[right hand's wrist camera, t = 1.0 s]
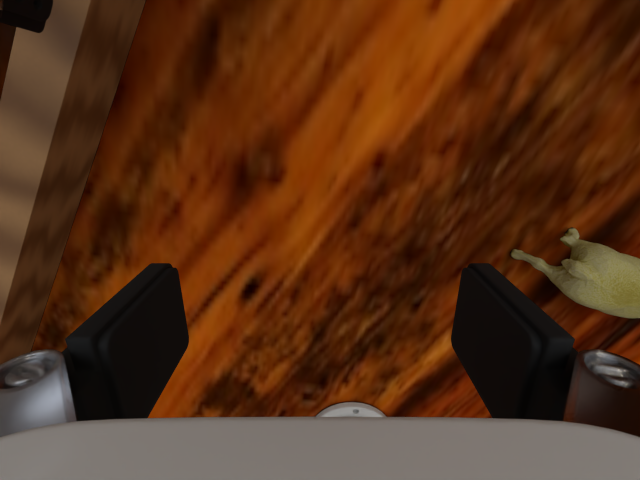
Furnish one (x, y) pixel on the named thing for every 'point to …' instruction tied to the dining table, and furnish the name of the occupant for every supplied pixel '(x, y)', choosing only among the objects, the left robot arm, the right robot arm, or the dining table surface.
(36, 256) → the beam
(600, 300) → the toy
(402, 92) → the dining table surface
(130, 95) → the dining table surface
